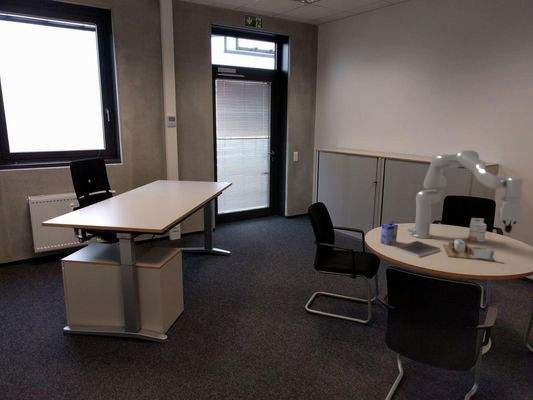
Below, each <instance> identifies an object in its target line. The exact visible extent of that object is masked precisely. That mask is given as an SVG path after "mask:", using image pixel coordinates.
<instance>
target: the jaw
mask: <svg viewBox="0 0 533 400" xmlns="http://www.w3.org/2000/svg"><path fill="white" fill-rule="evenodd" d="M453 242H454V249H455V251H457V252H464V250H465V242H464V241H463V240H462V239H461V238H456V239H454V241H453Z"/></svg>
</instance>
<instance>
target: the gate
mask: <svg viewBox="0 0 533 400" xmlns="http://www.w3.org/2000/svg"><path fill="white" fill-rule="evenodd" d="M494 255H495V251H494V250H488V249H486V250H479V249H474V256H473V258H481V259H490V260H493V259H494Z"/></svg>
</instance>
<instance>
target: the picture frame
mask: <svg viewBox="0 0 533 400" xmlns="http://www.w3.org/2000/svg"><path fill="white" fill-rule="evenodd" d="M395 251H397V252H400V253H401V252H402V253H404V254H408V255H411V256H413V257H416V258H421V257H424V256H427V255H430V254H434V253H437V252H440V251H441V247H439V246H434V245H432V244H428V243H423V242H422V241H418V240H415V241H412V242H409V243H405V244H402V245H398V246H395Z"/></svg>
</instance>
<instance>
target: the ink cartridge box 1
mask: <svg viewBox="0 0 533 400" xmlns="http://www.w3.org/2000/svg"><path fill="white" fill-rule="evenodd" d="M394 222H395V221H390V222H389V223H385V224H382V225H381V232H380V243H381V244H383V245H386V246H388V245H391V244H396V243H397V239H398V238H397V236H398V230H399V229H398V228H399V224H397V223H394Z"/></svg>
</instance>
